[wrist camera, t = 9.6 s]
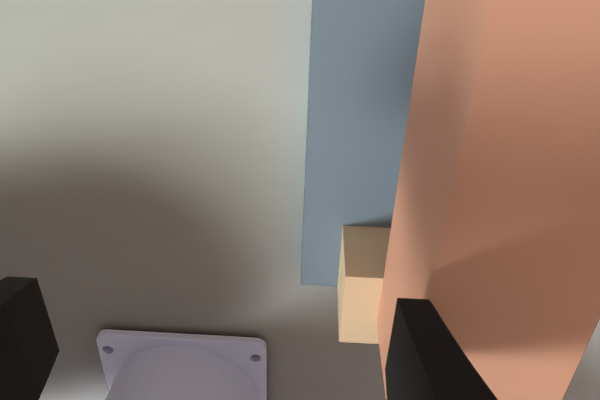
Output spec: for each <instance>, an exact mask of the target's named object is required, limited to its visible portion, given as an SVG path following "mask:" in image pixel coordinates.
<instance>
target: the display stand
mask: <svg viewBox="0 0 600 400" xmlns="http://www.w3.org/2000/svg"><path fill="white" fill-rule="evenodd" d="M424 5H425V0H312V19H311V44H310V68H309V93H308V118H307V142H306V167H305V192H304V216H303V241H302V266H301V284H302V285H321V286H337V293H338V328H339V342H351V343H369V344H379V340H378V331H377V318H378V311H379V304H380V298H381V291H382V284H383V278H384V271H385V264H386V258H387V251H388V245H389V238H390V231H391V225H392V218H393V211H394V205H395V198H396V191H397V185H398V178H399V171H400V165H401V158H402V151H403V145H404V138H405V131H406V125H407V118H408V111H409V105H410V98H411V92H412V85H413V78H414V72H415V65H416V58H417V52H418V45H419V38H420V32H421V25H422V18H423V12H424Z"/></svg>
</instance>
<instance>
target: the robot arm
mask: <svg viewBox="0 0 600 400" xmlns="http://www.w3.org/2000/svg"><path fill="white" fill-rule="evenodd" d="M96 343H97V347H98V351H99V355H100V359H101V363H102V367H103V370H104V374H105V378H106V382H107V386H108V390H109V393H108V395H107V397H106V399H105V400H267V345H266V343H265V341H264V340H262V339H260V338H254V337H236V336H218V335H200V334H182V333H165V332H147V331H129V330H111V329H105V330H102V331H100V332H99V334H98V336H97V338H96ZM58 352H59V348H58V345H57V342H56V338H55V335H54V332H53V329H52V326H51V322H50V319H49V316H48V313H47V310H46V306H45V303H44V300H43V297H42V294H41V290H40V287H39V284H38V281H37V278H22V277H6V278H4V279H2V280H0V400H39V398H40V395H41V393H42V391H43V388H44V386H45V384H46V382H47V379H48V377H49V375H50V372H51V370H52V367H53V365H54V362H55V360H56V357H57V355H58ZM255 355H259V356H255ZM385 377H386V392H387V400H498V399H497V398H496V397H495V395H494V394H493V392H492V391H491V390H490V388H489V387H488V386H487V384H486V383H485V381H484V380H483V379H482V377H481V376H480V375H479V373H478V372H477V371H476V369H475V368H474V366H473V365H472V363H471V362H470V361H469V359H468V358H467V356H466V355H465V353H464V352H463V350H462V349H461V347H460V346H459V344H458V343H457V341H456V340H455V338H454V337H453V335H452V334H451V332H450V331H449V329H448V328H447V326H446V324H445V323H444V321H443V320H442V318H441V316H440V315H439V313H438V312H437V310H436V308H435V307H434V305H433V304H432V303H431V302H430V300H429V299H411V298H397V303H396V309H395V314H394V320H393V326H392V332H391V337H390V343H389V349H388V355H387V360H386V366H385Z"/></svg>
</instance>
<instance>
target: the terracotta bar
mask: <svg viewBox="0 0 600 400" xmlns="http://www.w3.org/2000/svg"><path fill="white" fill-rule="evenodd" d="M397 298H411V299H429V300H430V302H431V303H432V304H433V305H434V307H435V308H436V310H437V312H438V313H439V315H440V316H441V318H442V320H443V321H444V323H445V324H446V326H447V328H448V329H449V331H450V332H451V334H452V335H453V337H454V338H455V340H456V341H457V343H458V344H459V346H460V347H461V349H462V350H463V352H464V353H465V355H466V356H467V358H468V359H469V361H470V362H471V363H472V365H473V366H474V368H475V369H476V371H477V372H478V373H479V375H480V376H481V377H482V379H483V380H484V381H485V383H486V384H487V386H488V387H489V388H490V390H491V391H492V392H493V394H494V395H495V397H496V398H497V399H498V400H562V399H563V397H564V394H565V392H566V390H567V388H568V386H569V384H570V381H571V379H572V377H573V375H574V373H575V371H576V369H577V366H578V364H579V362H580V360H581V358H582V356H583V353H584V351H585V349H586V347H587V345H588V343H589V340H590V338H591V336H592V334H593V332H594V330H595V328H596V325H597V323H598V321H599V319H600V0H425V5H424V12H423V18H422V25H421V32H420V38H419V45H418V52H417V58H416V65H415V72H414V78H413V85H412V92H411V98H410V105H409V111H408V118H407V125H406V131H405V138H404V145H403V151H402V158H401V165H400V171H399V178H398V185H397V191H396V198H395V205H394V211H393V218H392V225H391V231H390V238H389V245H388V251H387V258H386V264H385V271H384V278H383V284H382V291H381V298H380V304H379V311H378V318H377V331H378V340H379V348H380V356H381V365H382V373H383V381H384V390H385V398H386V400H387V392H386V377H385V366H386V360H387V355H388V349H389V343H390V337H391V332H392V326H393V320H394V314H395V309H396V303H397Z"/></svg>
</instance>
